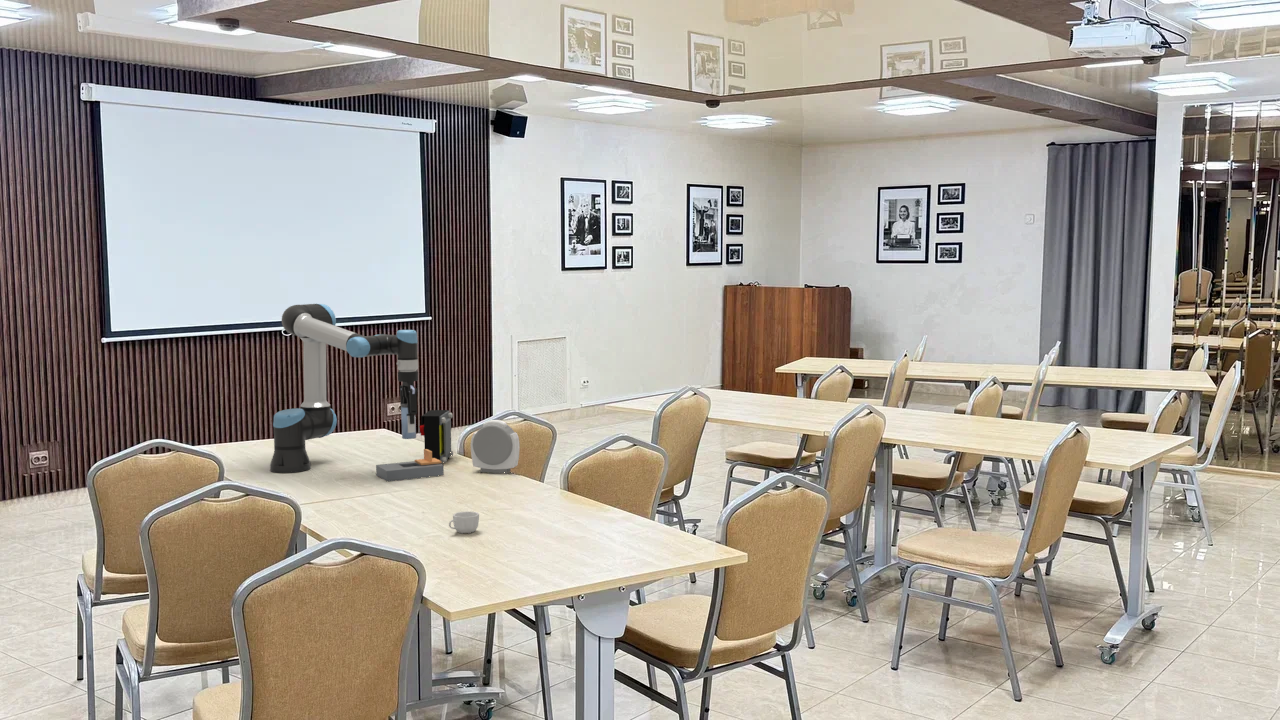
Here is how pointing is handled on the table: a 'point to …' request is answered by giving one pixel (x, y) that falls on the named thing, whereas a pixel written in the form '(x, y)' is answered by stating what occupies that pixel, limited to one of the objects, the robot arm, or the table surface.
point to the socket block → (407, 470)
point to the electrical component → (437, 433)
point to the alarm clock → (495, 447)
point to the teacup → (465, 521)
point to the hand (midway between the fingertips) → (409, 431)
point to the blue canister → (406, 423)
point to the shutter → (428, 459)
